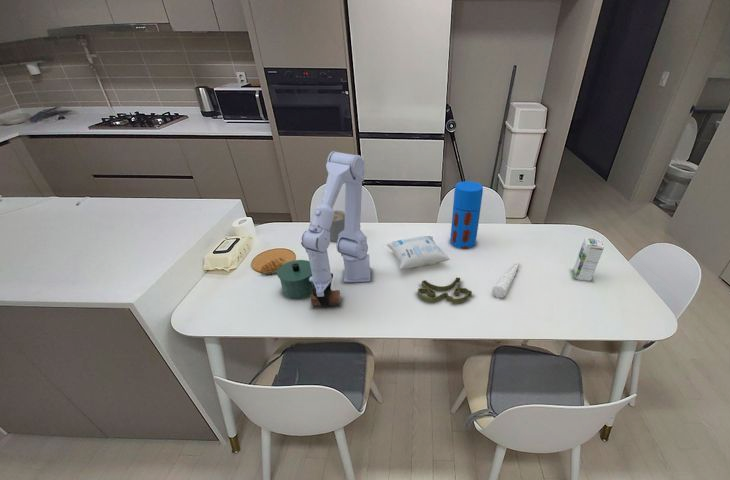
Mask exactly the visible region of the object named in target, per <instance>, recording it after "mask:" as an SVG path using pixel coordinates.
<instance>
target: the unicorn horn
mask: <svg viewBox="0 0 730 480" xmlns="http://www.w3.org/2000/svg"><path fill="white" fill-rule="evenodd" d="M518 269H519V263H516V264H515V265H514V266H513V267H512V268H511V269H509V270H508V272H506V274H504V276H502V277H501V279H499V281H498V282H496V284H495V285H494V286H493V287H492V289H491V292H492V294H493V296H495V297H496V298H499V299H502V298H504V297H505V296H506V295H507V293H508V291H509V288H510V287H511V285H512V283H513V280H514V278H515V275H516V273H517V271H518Z"/></svg>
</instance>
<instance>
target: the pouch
mask: <svg viewBox="0 0 730 480" xmlns="http://www.w3.org/2000/svg"><path fill="white" fill-rule="evenodd" d="M433 237H434V236H431V235H425V236H423V235H422V236H417V237H411V238H403V239H399V240H395V241H394V240H393V241H390V242H389V243H386V244H385V246H387V247H388V248H389V250H391V251H392V253H393V254H394V255H395V257H396V258H397V260H398V263H399V269H400V270H401V269H402V270H405V269H413V268H418V267H423V266H429V265H434V264H440V263H444V262H447V261H451V257H450V256H448V255H447V254H446V253H445V251H443V250H442V249H441V248H440V247H439V246H438V245H437V244H436V242H435V241H434V239H433Z"/></svg>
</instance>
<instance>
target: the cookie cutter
mask: <svg viewBox="0 0 730 480" xmlns="http://www.w3.org/2000/svg"><path fill="white" fill-rule="evenodd" d="M457 283H458V284H457ZM456 284H457V286H456ZM460 285H461V277H455V279H454V281H453V282H452V283H450V284H448V285H443V286H440V285H435V284H432V283H430V282H429V281H427V280H424V279H423V280H421V288H417V295H418V297H419V299H421V300H422V301H423V302H426V303H429V304H432V303H437V302H439V301H442V300H443V299H444V298H446V300H447V302H451V303H452V305H456V304H462V303H464V302H466V301H467V300H468V298H471V297H472V294H473V291H472V290H469V289H468V288H467V287H460ZM455 286H456V288H454V287H455ZM453 288H454V290H453V291H454V292H453V296H452V295H449V292H448V291H450V290H452V289H453ZM436 292H443V293H441V294H439V295H437V296H436V294H437V293H436ZM424 294H427V295H424ZM460 294H465V296H462V297H459V296H460ZM454 297H459V298H454Z"/></svg>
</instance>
